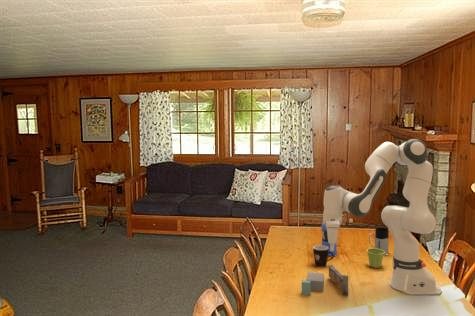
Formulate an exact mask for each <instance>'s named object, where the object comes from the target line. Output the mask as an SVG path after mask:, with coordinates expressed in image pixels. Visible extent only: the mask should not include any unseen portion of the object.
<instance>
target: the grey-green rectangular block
mask: <svg viewBox="0 0 475 316" xmlns="http://www.w3.org/2000/svg"><path fill="white" fill-rule="evenodd" d="M311 291H312V290H311V281H307V280H306V279H305V280H301V296H311Z"/></svg>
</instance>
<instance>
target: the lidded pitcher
mask: <svg viewBox="0 0 475 316" xmlns="http://www.w3.org/2000/svg"><path fill="white" fill-rule="evenodd" d="M389 233H390V230H389V229H388V228H386V227H376V228H375V233H374V232H370V233H369V234H368V242H369V244H370V246H371V248H376V249H381V250H383V251H385V253H384V255H386V254H388V253H389V254H390V252H389V246H390V244H389V243H390V241H389V240H390V236H389V235H390V234H389ZM372 234H373V238H374V246H373V244H372V243H371V239H370V237H371V235H372Z"/></svg>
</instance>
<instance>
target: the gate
mask: <svg viewBox="0 0 475 316" xmlns="http://www.w3.org/2000/svg"><path fill="white" fill-rule="evenodd" d="M343 275H344V274H342V273H341V272H340V271H339V270H338V269H337V268H336V267H335V266H334V265H333V264H328V277H329V279H331V281H332V282H333V283H334V284H335V285H336V286H337V287H338V289H339V290H340V291H341V292H342V293H343Z"/></svg>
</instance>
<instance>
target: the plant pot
mask: <svg viewBox="0 0 475 316" xmlns="http://www.w3.org/2000/svg"><path fill="white" fill-rule="evenodd" d="M366 252H367V256H368V262H369V267H371V268H373V267H374V269H379V268H381V267H382V264H383V257H384V256H383V255H384V253H385V251H383V250H381V249H376V248H375V247H374V248H373V247H370V248H368V249H366Z"/></svg>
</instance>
